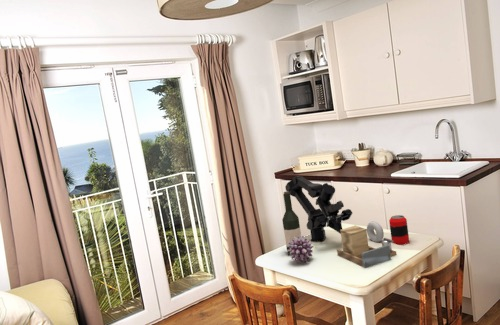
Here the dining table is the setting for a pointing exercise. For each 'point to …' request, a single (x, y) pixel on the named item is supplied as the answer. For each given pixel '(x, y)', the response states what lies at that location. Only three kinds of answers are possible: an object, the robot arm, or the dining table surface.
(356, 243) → the tall wooden block
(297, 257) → the purple spiky ball
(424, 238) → the dining table surface
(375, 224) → the donut
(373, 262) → the bay
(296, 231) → the wine bottle
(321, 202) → the robot arm
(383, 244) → the post
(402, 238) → the soda can
